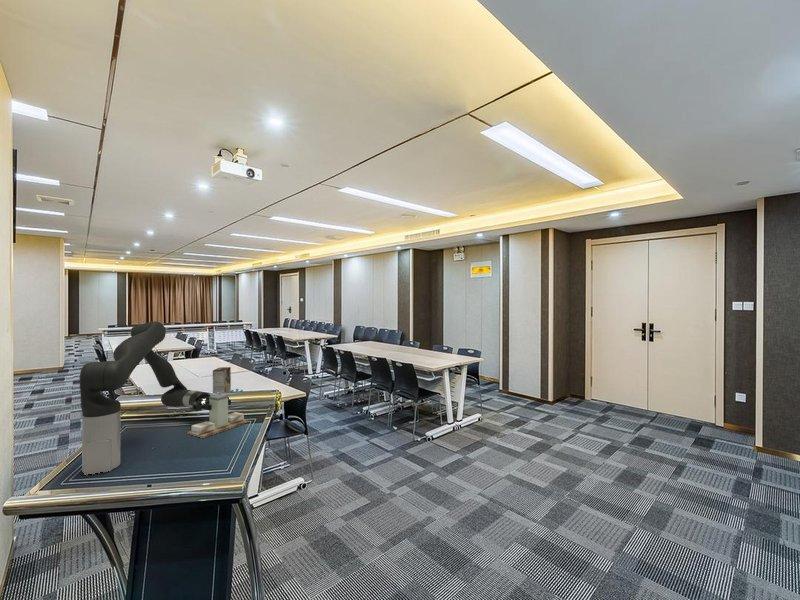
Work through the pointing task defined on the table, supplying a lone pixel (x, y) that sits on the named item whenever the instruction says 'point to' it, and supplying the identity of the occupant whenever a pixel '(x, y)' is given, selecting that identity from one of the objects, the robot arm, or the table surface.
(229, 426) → the rail board
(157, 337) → the robot arm
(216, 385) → the coffee box
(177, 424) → the table surface
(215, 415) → the block
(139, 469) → the table surface
